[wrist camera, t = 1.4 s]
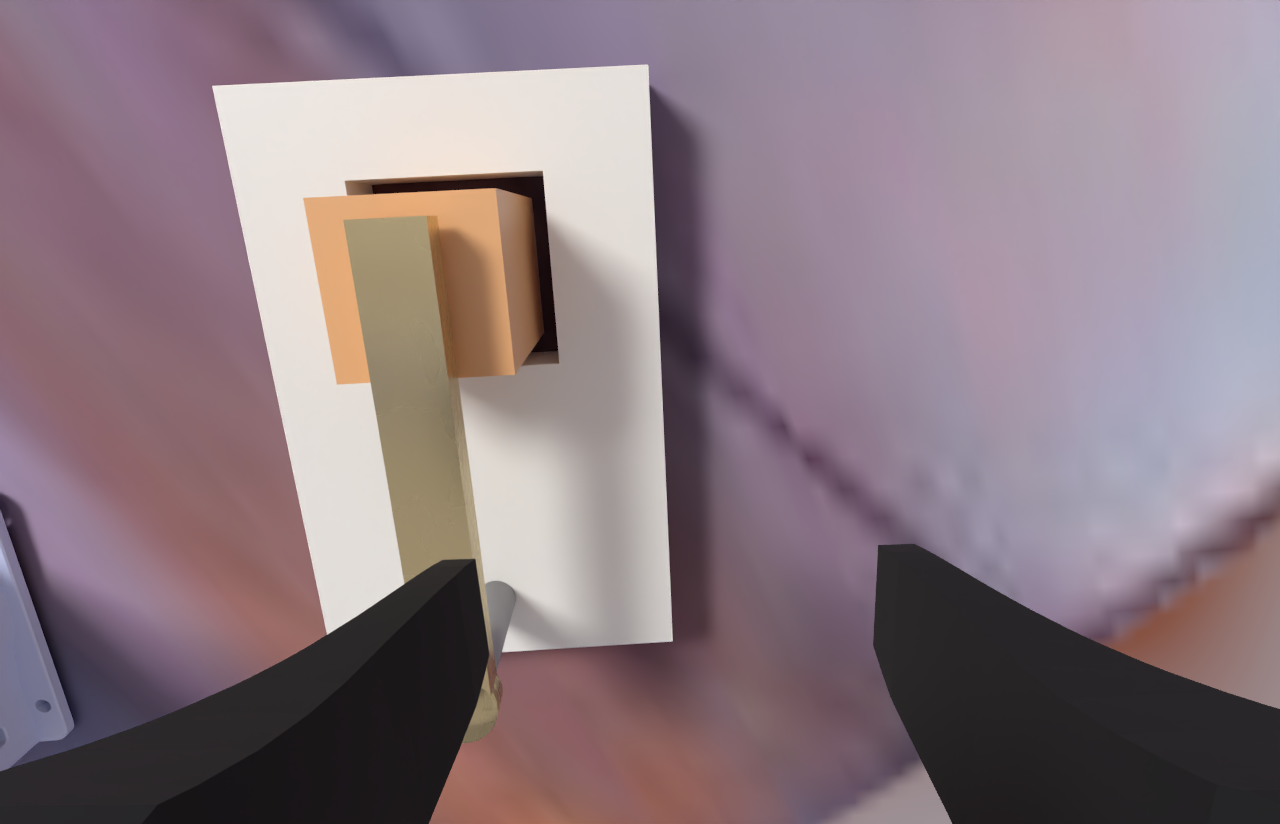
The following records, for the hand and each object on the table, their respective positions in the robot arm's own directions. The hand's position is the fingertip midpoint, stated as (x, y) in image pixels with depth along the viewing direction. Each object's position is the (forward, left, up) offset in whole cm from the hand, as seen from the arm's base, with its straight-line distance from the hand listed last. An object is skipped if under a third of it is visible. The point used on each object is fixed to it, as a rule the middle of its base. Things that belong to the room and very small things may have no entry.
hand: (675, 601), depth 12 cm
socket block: (+2, +5, -10) cm, 12 cm away
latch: (+1, +5, -4) cm, 7 cm away
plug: (+5, +5, -10) cm, 13 cm away
